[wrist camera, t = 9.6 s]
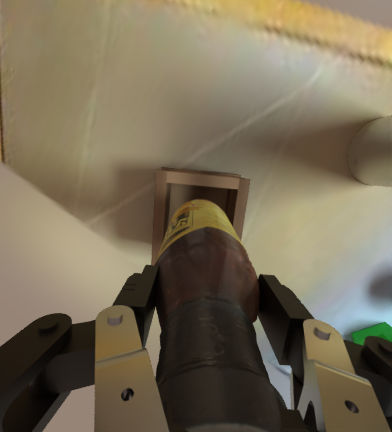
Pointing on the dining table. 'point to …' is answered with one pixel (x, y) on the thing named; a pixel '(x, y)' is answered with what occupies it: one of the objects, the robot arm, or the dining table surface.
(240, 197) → the bottle caddy
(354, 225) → the dining table surface
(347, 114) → the dining table surface
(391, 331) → the mechanical part
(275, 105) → the dining table surface
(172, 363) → the sauce bottle
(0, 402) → the robot arm
